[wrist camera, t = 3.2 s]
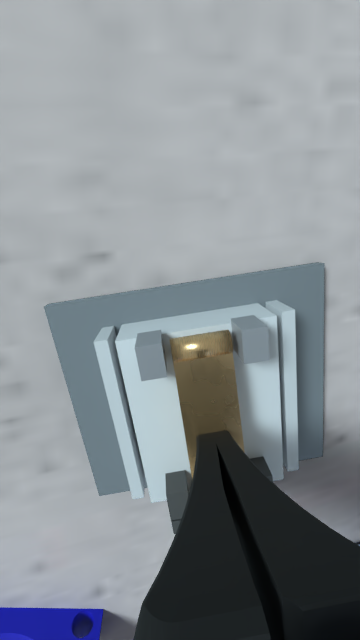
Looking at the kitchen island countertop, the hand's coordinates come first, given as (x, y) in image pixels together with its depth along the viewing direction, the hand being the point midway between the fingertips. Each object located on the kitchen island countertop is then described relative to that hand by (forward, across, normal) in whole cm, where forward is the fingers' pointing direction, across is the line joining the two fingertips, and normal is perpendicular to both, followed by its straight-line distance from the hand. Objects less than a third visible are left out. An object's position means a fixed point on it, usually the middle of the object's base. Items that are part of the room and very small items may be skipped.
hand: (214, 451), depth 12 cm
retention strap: (+1, 0, -1) cm, 1 cm away
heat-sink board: (+4, 0, -1) cm, 4 cm away
